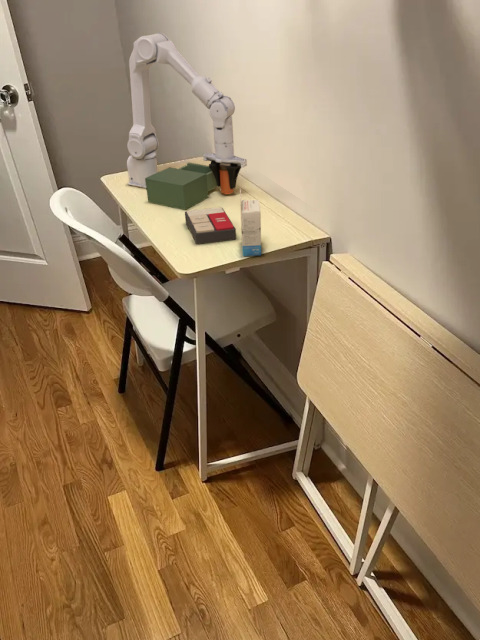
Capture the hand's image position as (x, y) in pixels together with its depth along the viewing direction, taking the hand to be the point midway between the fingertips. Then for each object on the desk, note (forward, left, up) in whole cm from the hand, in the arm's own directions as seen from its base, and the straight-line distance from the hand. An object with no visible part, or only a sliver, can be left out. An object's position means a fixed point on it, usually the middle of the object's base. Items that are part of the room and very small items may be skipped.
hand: (226, 186), depth 180 cm
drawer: (-11, 0, -2) cm, 11 cm away
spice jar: (0, 0, -2) cm, 2 cm away
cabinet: (-11, -12, -2) cm, 16 cm away
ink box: (+28, -33, -3) cm, 43 cm away
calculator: (+12, -28, -3) cm, 31 cm away
